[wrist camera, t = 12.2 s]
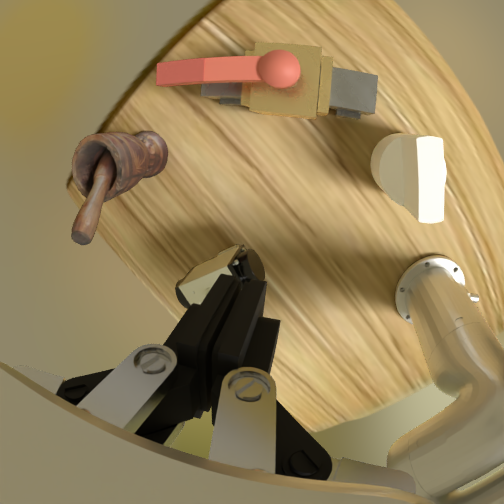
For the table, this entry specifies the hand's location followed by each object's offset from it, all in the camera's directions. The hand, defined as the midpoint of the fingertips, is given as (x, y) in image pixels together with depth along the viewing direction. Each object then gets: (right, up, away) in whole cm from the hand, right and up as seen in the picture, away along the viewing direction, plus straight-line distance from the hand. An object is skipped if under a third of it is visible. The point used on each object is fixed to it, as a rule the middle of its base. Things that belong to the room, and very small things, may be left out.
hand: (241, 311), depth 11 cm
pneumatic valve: (-2, +1, +36) cm, 36 cm away
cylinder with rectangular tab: (+21, +14, +25) cm, 36 cm away
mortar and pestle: (-15, +16, +32) cm, 39 cm away
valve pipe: (+6, +24, +24) cm, 34 cm away
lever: (-2, +19, +14) cm, 24 cm away
